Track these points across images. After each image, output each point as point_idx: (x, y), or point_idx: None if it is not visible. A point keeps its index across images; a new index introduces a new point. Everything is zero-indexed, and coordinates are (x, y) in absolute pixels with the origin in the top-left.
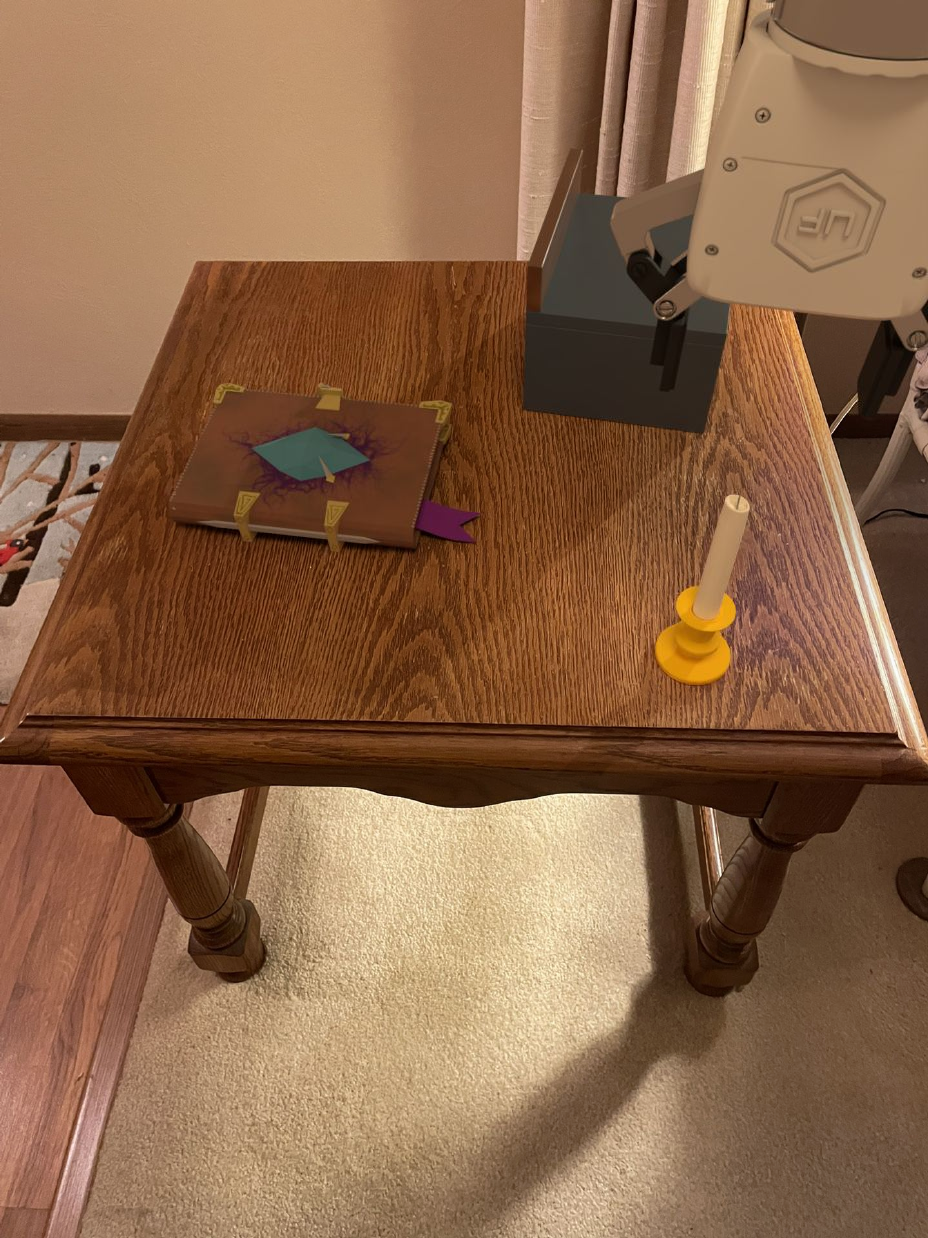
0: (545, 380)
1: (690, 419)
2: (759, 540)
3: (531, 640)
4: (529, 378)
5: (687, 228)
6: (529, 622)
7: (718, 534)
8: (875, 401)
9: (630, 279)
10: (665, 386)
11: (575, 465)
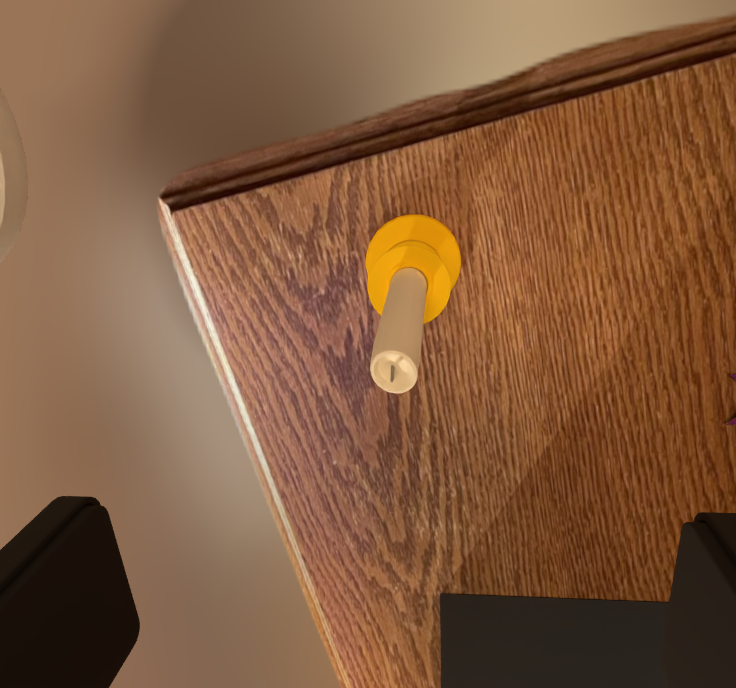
0: None
1: (460, 609)
2: (355, 450)
3: (629, 230)
4: None
5: None
6: (635, 260)
7: (415, 331)
8: (30, 538)
9: None
10: (732, 525)
11: (597, 524)
